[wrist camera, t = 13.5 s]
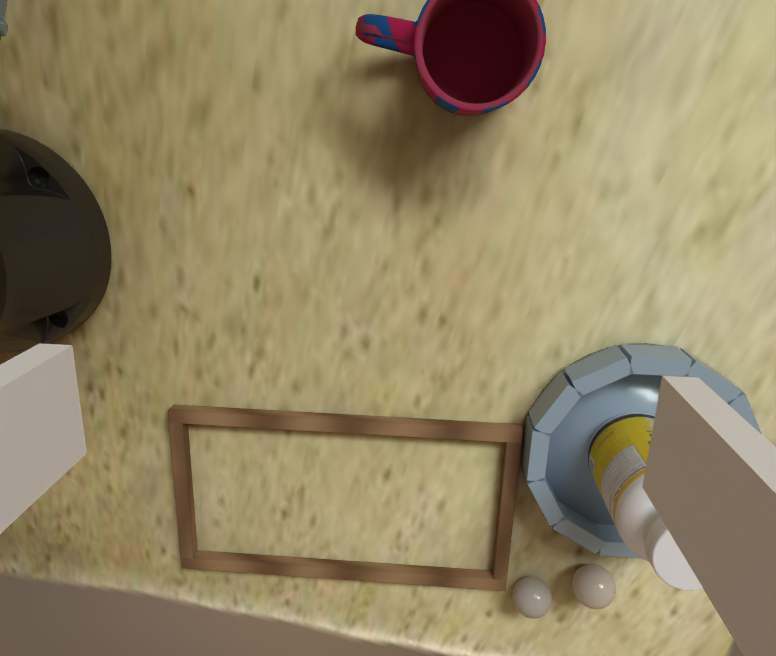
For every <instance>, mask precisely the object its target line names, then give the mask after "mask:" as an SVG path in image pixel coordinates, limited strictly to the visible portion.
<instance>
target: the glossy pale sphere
mask: <svg viewBox="0 0 776 656" xmlns="http://www.w3.org/2000/svg"><path fill="white" fill-rule="evenodd" d="M512 597H513V602H514V605H515V607H516V609H517V610H518V611H519V612H520V613H521V614H522V615H524V616H526V617H528V618H540V617H542V616H544V615H545V614H546V613H547V612H548V611H549V609H550V607H551V604H552V595H551V591H550V589H549V587H548V586H547V584H546V583H545V582H544V581H542V580H541V579H539V578H537V577H532V576H528V577H524V578H522V579H520V580H519V581H518V582H517V583H516V585H515V586H514V589H513V594H512Z"/></svg>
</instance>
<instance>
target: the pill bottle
mask: <svg viewBox="0 0 776 656" xmlns="http://www.w3.org/2000/svg"><path fill="white" fill-rule="evenodd" d="M654 419H655V416H654V415H650V414H647V413H639V412H633V413H626V414H622V415H618V416H616V417H614V418H611V419H610V420H608V421H606V422H605V423H604V424H603V425H601V426H600V427H599V428H598V429H597V431H596V432H595V433H594V435H593V436H592V438H591V440H590V443H589V446H588V451H587V460H588V465H589V469H590V471H591V474H592V476H593V478H594V480H595V482H596V484H597V486H598V489H599V491H600V493H601V495H602V497H603V500H604V502H605V504H606V506H607V509H608V511H609V513H610V515H611V517H612V520H613V522H614V524H615V526H616V528H617V530H618V533H619V535H620V536H621V538H622V540H623V541H624V543H625V544H626V545H627V547H628V548H629V549H630V550H631V551H632V552H634V553H635V554H636V555H638V556H639V557H641V558H642V559H644V560H646V561H649V562H650V564H651V565H652V567H653V569H654V570H655V572H656V574H657V575H658V576H659V577H660V578H661V579H662V580H663V581H664V582H665V583H667V584H668V585H670V586H672V587H675V588H678V589H682V590H689V591H693V590H703V587H702V586H701V584H700V582H699V581H698V579H697V577H696V576H695V574H694V572H693V571H692V569H691V567H690V566H689V564H688V562H687V561H686V559H685V557H684V556H683V554H682V552H681V551H680V549H679V547H678V546H677V544H676V542H675V541H674V539H673V537H672V536H671V534H670V532H669V531H668V529H667V527H666V526H665V524H664V522H663V521H662V519H661V518H660V516H659V514H658V513H657V511H656V509H655V508H654V506H653V504H652V503H651V501H650V499H649V498H648V496H647V494H646V493H645V491H644V489H643V488H642V485H643V480H644V474H645V469H646V463H647V458H648V452H649V447H650V441H651V436H652V430H653V424H654Z"/></svg>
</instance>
